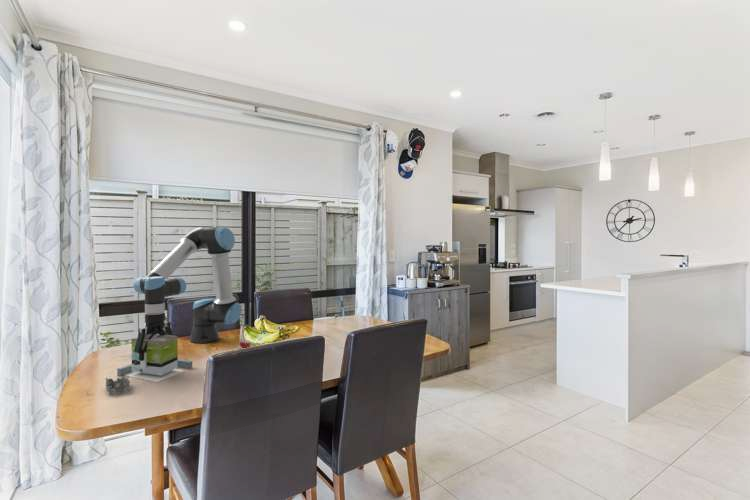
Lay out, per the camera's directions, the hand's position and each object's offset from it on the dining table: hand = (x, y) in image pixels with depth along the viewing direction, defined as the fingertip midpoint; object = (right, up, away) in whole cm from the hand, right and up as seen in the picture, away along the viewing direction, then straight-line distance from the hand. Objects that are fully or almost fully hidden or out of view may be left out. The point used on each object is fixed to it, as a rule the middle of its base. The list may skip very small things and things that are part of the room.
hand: (155, 363), depth 164 cm
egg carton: (-5, -5, -17) cm, 18 cm away
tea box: (0, -3, 0) cm, 3 cm away
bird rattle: (+33, -5, +14) cm, 36 cm away
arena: (-1, -4, +2) cm, 5 cm away
